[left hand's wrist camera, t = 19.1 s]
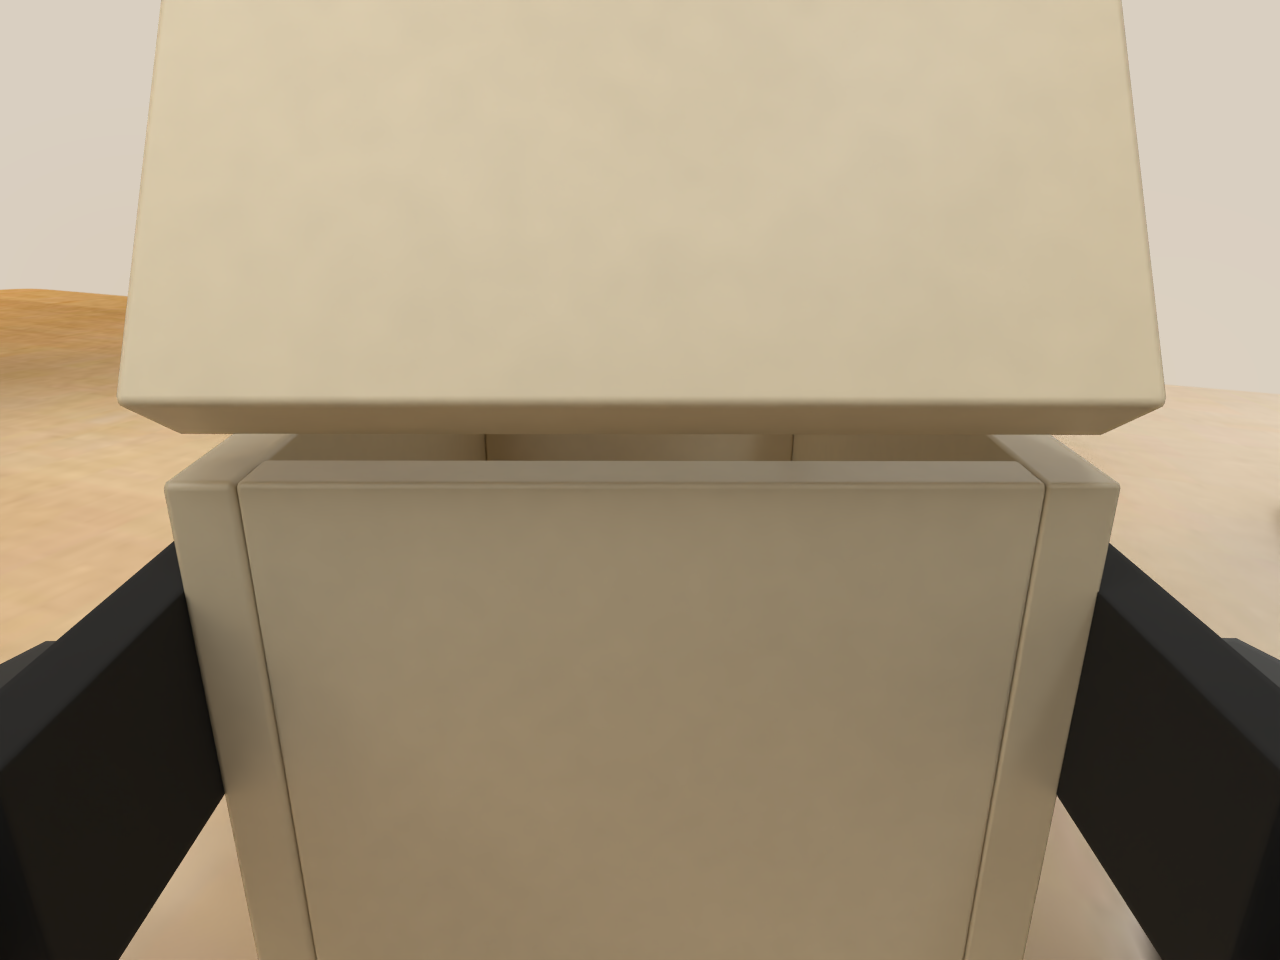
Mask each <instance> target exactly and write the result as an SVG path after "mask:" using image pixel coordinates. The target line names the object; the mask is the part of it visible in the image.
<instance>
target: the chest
mask: <svg viewBox="0 0 1280 960" xmlns="http://www.w3.org/2000/svg"><path fill="white" fill-rule="evenodd" d="M1119 492H1120V485H1119V483H1117V482H1116V481H1114V480H1113V479H1112V478H1110V477H1109V476H1107V475H1106V474H1105V473H1103V472H1102V471H1100V470H1099V469H1098V468H1096V467H1095V466H1093V465H1092V464H1091V463H1089V462H1088V461H1086V460H1085V459H1083V458H1082V457H1081V456H1079V455H1078V454H1076V453H1075V452H1074V451H1072V450H1071V449H1069V448H1068V447H1067V446H1065V445H1064V444H1062V443H1061V442H1060V441H1058V440H1057V439H1055V438H1054V437H1052V436H1051V435H853V434H233V435H231V436H230V437H229V438H227V439H226V440H224V441H223V442H222V443H220V444H219V445H217V446H216V447H215V448H213V449H212V450H210V451H209V452H208V453H206V454H205V455H204V456H202V457H201V458H199V459H198V460H197V461H195V462H194V463H192V464H191V465H190V466H188V467H187V468H185V469H184V470H183V471H181V472H180V473H179V474H177V475H176V476H174V477H173V478H172V479H170V480H169V481H167V482H166V484H165V488H164V493H165V498H166V503H167V508H168V513H169V518H170V522H171V527H172V532H173V537H174V542H175V547H176V552H177V557H178V562H179V567H180V572H181V577H182V582H183V587H184V592H185V597H186V602H187V607H188V612H189V617H190V622H191V627H192V632H193V637H194V642H195V647H196V652H197V657H198V662H199V667H200V672H201V677H202V682H203V687H204V692H205V697H206V702H207V707H208V711H209V716H210V721H211V726H212V731H213V736H214V741H215V746H216V751H217V756H218V761H219V766H220V771H221V776H222V781H223V786H224V791H225V796H226V801H227V806H228V811H229V816H230V821H231V826H232V831H233V836H234V841H235V846H236V851H237V856H238V861H239V866H240V871H241V876H242V881H243V886H244V891H245V896H246V900H247V905H248V910H249V915H250V920H251V925H252V930H253V935H254V940H255V945H256V950H257V955H258V960H1023V956H1024V951H1025V947H1026V942H1027V937H1028V932H1029V927H1030V922H1031V918H1032V913H1033V908H1034V903H1035V898H1036V893H1037V889H1038V884H1039V879H1040V874H1041V869H1042V864H1043V860H1044V855H1045V850H1046V845H1047V840H1048V835H1049V831H1050V826H1051V821H1052V816H1053V811H1054V806H1055V802H1056V797H1057V794H1056V793H1057V788H1058V783H1059V778H1060V773H1061V769H1062V764H1063V759H1064V754H1065V749H1066V744H1067V739H1068V734H1069V729H1070V725H1071V720H1072V715H1073V710H1074V705H1075V700H1076V695H1077V690H1078V685H1079V681H1080V676H1081V671H1082V666H1083V661H1084V656H1085V651H1086V646H1087V641H1088V637H1089V632H1090V627H1091V622H1092V617H1093V612H1094V607H1095V602H1096V597H1097V593H1098V592H1099V589H1100V584H1101V579H1102V574H1103V569H1104V564H1105V560H1106V555H1107V550H1108V545H1109V540H1110V535H1111V531H1112V526H1113V521H1114V516H1115V511H1116V506H1117V502H1118V497H1119Z"/></svg>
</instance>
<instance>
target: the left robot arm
mask: <svg viewBox="0 0 1280 960" xmlns="http://www.w3.org/2000/svg"><path fill="white" fill-rule="evenodd" d="M224 794H225V791H224V786H223V781H222V776H221V771H220V766H219V761H218V756H217V751H216V746H215V741H214V736H213V731H212V726H211V721H210V716H209V711H208V707H207V702H206V697H205V692H204V687H203V682H202V677H201V672H200V667H199V662H198V657H197V652H196V647H195V642H194V637H193V632H192V627H191V622H190V617H189V612H188V607H187V602H186V597H185V592H184V587H183V582H182V577H181V572H180V567H179V562H178V557H177V552H176V547H175V542H174V541H173V542H172V543H171V544H170V545H169V546H168V547H166V548H165V549H164V550H163V551H162V552H161V553H159V554H158V555H157V556H156V557H155V558H153V559H152V560H151V561H150V562H149V563H148V564H146V565H145V566H144V567H143V568H142V569H141V570H139V571H138V572H137V573H136V574H135V575H133V576H132V577H131V578H130V579H129V580H128V581H126V582H125V583H124V584H123V585H122V586H121V587H119V588H118V589H117V590H116V591H115V592H113V593H112V594H111V595H110V596H109V597H108V598H106V599H105V600H104V601H103V602H102V603H100V604H99V605H98V606H97V607H96V608H95V609H93V610H92V611H91V612H90V613H89V614H88V615H86V616H85V617H84V618H83V619H82V620H80V621H79V622H78V623H77V624H76V625H75V626H73V627H72V628H71V629H70V630H69V631H68V632H66V633H65V634H64V635H63V636H62V637H60V638H59V639H58V640H57V641H45V642H43V643H41V644H39V645H37V646H35V647H33V648H32V649H30V650H28V651H26V652H24V653H22V654H20V655H18V656H16V657H14V658H12V659H10V660H8V661H6V662H4V663H2V664H0V960H119V958H120V957H121V955H122V954H123V952H124V951H125V949H126V948H127V946H128V944H129V943H130V941H131V940H132V938H133V937H134V935H135V933H136V932H137V930H138V929H139V927H140V926H141V924H142V923H143V921H144V919H145V918H146V916H147V915H148V913H149V912H150V910H151V908H152V907H153V905H154V904H155V902H156V901H157V899H158V898H159V896H160V894H161V893H162V891H163V890H164V888H165V887H166V885H167V883H168V882H169V880H170V879H171V877H172V876H173V874H174V872H175V871H176V869H177V868H178V866H179V865H180V863H181V862H182V860H183V858H184V857H185V855H186V854H187V852H188V851H189V849H190V847H191V846H192V844H193V843H194V841H195V840H196V838H197V837H198V835H199V833H200V832H201V830H202V829H203V827H204V826H205V824H206V822H207V821H208V819H209V818H210V816H211V815H212V813H213V812H214V810H215V808H216V807H217V805H218V804H219V802H220V801H221V799H222V797H223V796H224ZM1056 794H1057V796H1058V797H1059V799H1060V801H1061V802H1062V804H1063V805H1064V807H1065V808H1066V810H1067V812H1068V813H1069V815H1070V816H1071V818H1072V819H1073V821H1074V822H1075V824H1076V826H1077V827H1078V829H1079V830H1080V832H1081V833H1082V835H1083V837H1084V838H1085V840H1086V841H1087V843H1088V844H1089V846H1090V847H1091V849H1092V851H1093V852H1094V854H1095V855H1096V857H1097V858H1098V860H1099V862H1100V863H1101V865H1102V866H1103V868H1104V869H1105V871H1106V872H1107V874H1108V876H1109V877H1110V879H1111V880H1112V882H1113V883H1114V885H1115V887H1116V888H1117V890H1118V891H1119V893H1120V894H1121V896H1122V897H1123V899H1124V901H1125V902H1126V904H1127V905H1128V907H1129V908H1130V910H1131V912H1132V913H1133V915H1134V916H1135V918H1136V919H1137V921H1138V922H1139V924H1140V926H1141V927H1142V929H1143V930H1144V932H1145V933H1146V935H1147V937H1148V938H1149V940H1150V941H1151V943H1152V944H1153V946H1154V947H1155V949H1156V951H1157V952H1158V954H1159V955H1160V957H1161V958H1162V960H1280V660H1278V659H1276V658H1274V657H1272V656H1270V655H1268V654H1266V653H1264V652H1262V651H1261V650H1259V649H1257V648H1255V647H1253V646H1251V645H1249V644H1247V643H1245V642H1243V641H1241V640H1239V639H1237V638H1221V637H1219V636H1218V635H1217V634H1216V633H1215V632H1214V631H1212V630H1211V629H1210V628H1209V627H1208V626H1207V625H1205V624H1204V623H1203V622H1202V621H1201V620H1199V619H1198V618H1197V617H1196V616H1195V615H1194V614H1192V613H1191V612H1190V611H1189V610H1188V609H1186V608H1185V607H1184V606H1183V605H1182V604H1181V603H1179V602H1178V601H1177V600H1176V599H1175V598H1174V597H1172V596H1171V595H1170V594H1169V593H1168V592H1166V591H1165V590H1164V589H1163V588H1162V587H1161V586H1159V585H1158V584H1157V583H1156V582H1155V581H1154V580H1152V579H1151V578H1150V577H1149V576H1148V575H1146V574H1145V573H1144V572H1143V571H1142V570H1141V569H1139V568H1138V567H1137V566H1136V565H1135V564H1133V563H1132V562H1131V561H1130V560H1129V559H1128V558H1126V557H1125V556H1124V555H1123V554H1122V553H1121V552H1119V551H1118V550H1117V549H1116V548H1115V547H1113V546H1112V545H1111V544H1110V543H1109V545H1108V550H1107V555H1106V560H1105V564H1104V569H1103V574H1102V579H1101V584H1100V589H1099V592H1098V593H1097V597H1096V602H1095V607H1094V612H1093V617H1092V622H1091V627H1090V632H1089V637H1088V641H1087V646H1086V651H1085V656H1084V661H1083V666H1082V671H1081V676H1080V681H1079V685H1078V690H1077V695H1076V700H1075V705H1074V710H1073V715H1072V720H1071V725H1070V729H1069V734H1068V739H1067V744H1066V749H1065V754H1064V759H1063V764H1062V769H1061V773H1060V778H1059V783H1058V788H1057V793H1056Z"/></svg>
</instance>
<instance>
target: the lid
mask: <svg viewBox="0 0 1280 960" xmlns="http://www.w3.org/2000/svg"><path fill="white" fill-rule="evenodd" d="M1165 399H1166V394H1165V385H1164V376H1163V367H1162V358H1161V349H1160V340H1159V332H1158V323H1157V314H1156V305H1155V296H1154V287H1153V278H1152V269H1151V260H1150V251H1149V242H1148V233H1147V224H1146V215H1145V206H1144V198H1143V189H1142V180H1141V171H1140V162H1139V153H1138V144H1137V135H1136V126H1135V117H1134V108H1133V99H1132V90H1131V81H1130V72H1129V64H1128V55H1127V46H1126V37H1125V28H1124V19H1123V10H1122V1H1121V0H161V7H160V16H159V24H158V33H157V42H156V51H155V60H154V69H153V78H152V87H151V96H150V104H149V113H148V122H147V131H146V140H145V149H144V158H143V166H142V176H141V185H140V193H139V202H138V211H137V220H136V229H135V238H134V246H133V255H132V264H131V273H130V282H129V291H128V300H127V309H126V317H125V326H124V335H123V344H122V353H121V362H120V371H119V380H118V389H117V400H118V403H119V404H120V406H123V407H125V408H127V409H129V410H131V411H133V412H135V413H138V414H140V415H142V416H144V417H146V418H148V419H150V420H153V421H155V422H157V423H159V424H161V425H163V426H165V427H168V428H170V429H172V430H174V431H176V432H179V433H181V434H853V435H1101V434H1103V433H1106V432H1108V431H1110V430H1112V429H1115V428H1117V427H1119V426H1121V425H1123V424H1126V423H1128V422H1130V421H1132V420H1134V419H1136V418H1139V417H1141V416H1143V415H1145V414H1147V413H1150V412H1152V411H1154V410H1156V409H1158V408H1160V407H1162V406H1163V405H1164V403H1165Z"/></svg>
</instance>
